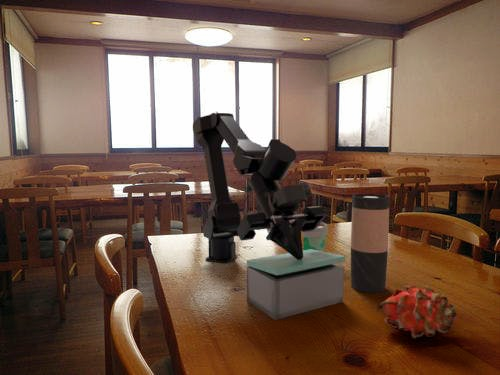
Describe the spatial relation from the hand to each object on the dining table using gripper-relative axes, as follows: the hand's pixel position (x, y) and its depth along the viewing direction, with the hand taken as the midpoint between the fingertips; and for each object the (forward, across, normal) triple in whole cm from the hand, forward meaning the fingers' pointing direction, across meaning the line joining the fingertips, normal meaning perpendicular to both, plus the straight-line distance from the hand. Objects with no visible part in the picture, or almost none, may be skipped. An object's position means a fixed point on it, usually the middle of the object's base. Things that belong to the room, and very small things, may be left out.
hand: (300, 258), depth 74 cm
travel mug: (+7, +18, +7) cm, 21 cm away
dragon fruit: (+20, +9, -6) cm, 23 cm away
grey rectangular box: (+5, 0, +8) cm, 9 cm away
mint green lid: (0, 0, +2) cm, 2 cm away
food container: (-8, +20, +20) cm, 30 cm away
